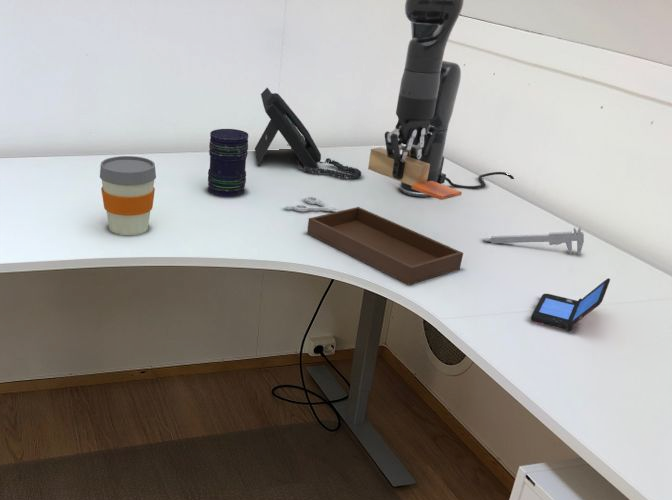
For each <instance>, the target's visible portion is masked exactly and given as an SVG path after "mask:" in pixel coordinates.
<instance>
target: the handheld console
mask: <svg viewBox="0 0 672 500" xmlns="http://www.w3.org/2000/svg"><path fill="white" fill-rule="evenodd" d="M610 282H611V278H610V277H609V278H606V279H605V280H603V281H602V282H601V283H600V284H598V286H596V287H594V289H592V290H591V291H590V292H589V293H588V294H586V295H585V296H584V297H582V298H579V299H578V300H576V299H571V298H568V297H564V296H559V295H556V294H555V295H554V294H551V293H543V294H542V295H541V297H540V299H539V301H538V302H537V304H536V306H535V307H534V309H533V312H532V314H531V316H530V320H531V321H532V322H534V323H537V324H540V325H541V324H542V325H545V326H548V327H553V328H556V329H561V330H565V331H567V332H572V331H573V327H574V325H576V324H577V323H578V322H579V321H581V320H582V319H583V318H585V317H586V316H587V315H588V314H590V313H591V312H592V311H594V310H595V309H597V308H598V307H599V306H600V305H601V304H602V302H603V301H604V297H605V295H606V292H607V290H608V287H609V285H610Z"/></svg>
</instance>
